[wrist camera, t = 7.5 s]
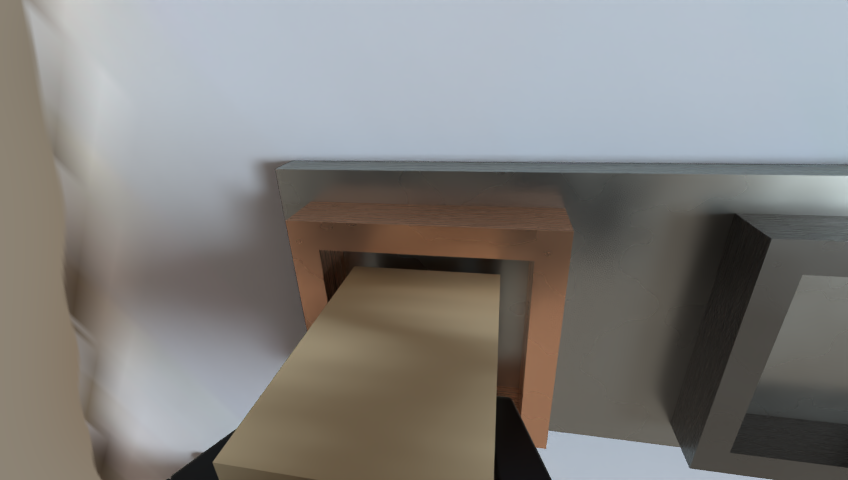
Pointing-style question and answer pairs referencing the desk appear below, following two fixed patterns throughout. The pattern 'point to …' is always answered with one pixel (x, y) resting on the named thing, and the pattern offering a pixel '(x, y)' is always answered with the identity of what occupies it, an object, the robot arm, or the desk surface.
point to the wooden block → (382, 386)
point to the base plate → (622, 292)
